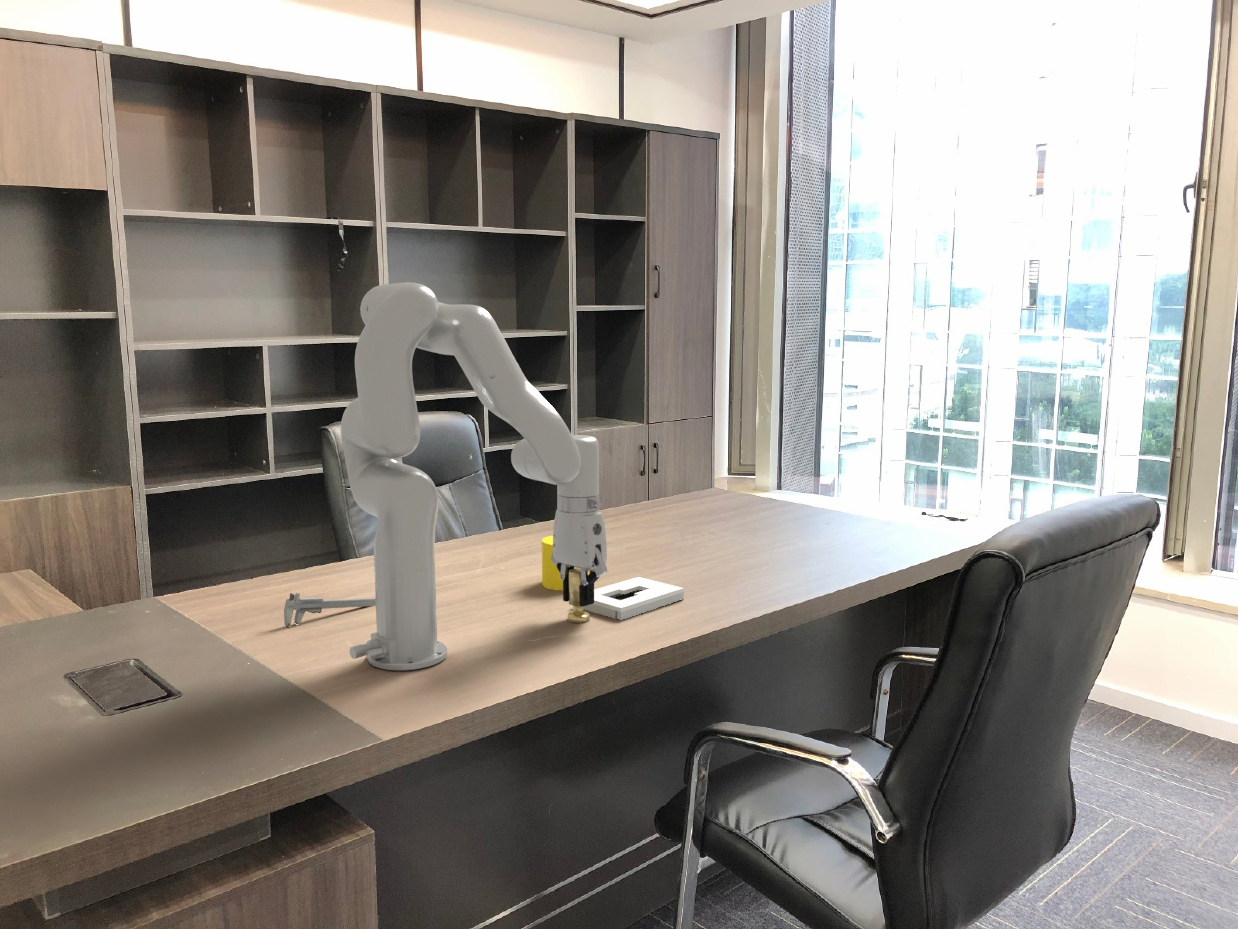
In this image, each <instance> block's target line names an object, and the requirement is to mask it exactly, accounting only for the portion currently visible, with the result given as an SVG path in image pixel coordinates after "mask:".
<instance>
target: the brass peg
mask: <svg viewBox="0 0 1238 929" xmlns="http://www.w3.org/2000/svg"><path fill="white" fill-rule="evenodd" d="M587 573H588V571H587ZM580 585H582V579H581V570H580V569H571V570H569V601H568V604H569V605H571V606H572V611H571V612H568V613H567V621H568V622H569V623H572V624H585V623H587V622H590V620H591V619H590V613H589V612H588V611H585V610H584V607H582V606H580V604H579V586H580Z"/></svg>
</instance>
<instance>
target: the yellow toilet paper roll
mask: <svg viewBox="0 0 1238 929" xmlns="http://www.w3.org/2000/svg"><path fill="white" fill-rule="evenodd" d="M552 554H553V535H550V536H549V535H548V536H545V537H544V538H542V539H541V580H542V581H541V582H542V584H541V585H542V587H543V586H544V587H543V588H545V589H548V590H551V589H554V590H553V591H558V590H563V580H562V579H561V578H560V572H559V570H558V569H557V566H556V565H555V564H554V563H553V562H552V561H551V556H552ZM569 567H570V566H569ZM576 569H580V568H578V567H576ZM589 574H590V571H588V575H589Z"/></svg>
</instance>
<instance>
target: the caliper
mask: <svg viewBox="0 0 1238 929" xmlns="http://www.w3.org/2000/svg"><path fill="white" fill-rule="evenodd" d="M374 606H375V607H376V597H363V598H359V597H358V598H338V599H337V598H336V599H324V598H322V597H305V598H304V597H301V598H300V593H298V592H296V593H295V594H294V593H291V592H290V593H289V598H288V599H287V598H286V599H285V603H284V608H283V615H284V616H283V617H284V619H283V620H284V626H285V625H286V626H285V627H287V626H290V627H291V626H292V619H293V616H294V620H293V621H294V622H293V624H294V623H296V624H300V625H301V623H302V620H303V618H304V615H305V612H309V613H311V614H315V613H316V614H317V613H318V614H321V613H322V610H323V609H325V610H326V609H342V608H343V609H345V608H362V607H363V608H364V607H368V608H369V607H374ZM294 610H295V614H294ZM293 614H294V615H293Z"/></svg>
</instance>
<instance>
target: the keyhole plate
mask: <svg viewBox="0 0 1238 929" xmlns="http://www.w3.org/2000/svg"><path fill="white" fill-rule="evenodd" d="M640 590H642V591H640ZM684 590H685V589H684V587H681V586H676V585H673V584H669V583H666V582H661V581H657V580H652V579H649V578H646V577H645V578H644V577H641V576H637V577H633V578H629V579H626V580H625V579H624V580H621V581H620V582H616V583H611V584H607V585H605V586H602V587H598V588H594V603H593V604H590V605H587V606H584V609H585V610H584V611H587V610H588V611H587V612H591V613H594V614H597V613H598V614H597V615H600V614H601V615H602V616H604V617H607V616H608V617H607V618H610V617H611V618H612V619H614V620H616V619H619V620H618V621H621V620H622V621H624V620H623V619H625V620H627V618H628V619H631V618H633V617H632V616H634V617H636V615H637V616H639V614H640V615H642V614H641V613H643V614H646V613H648V612H647V611H649V612H651V611H650V610H652V609H655V610H657V609H656V608H658V607H660V606H664V607H666V606H665V605H667V604H669V603H672V602H676V601H678V600H680V599H685V598H684V593H685V592H684ZM633 591H634V592H633ZM637 591H638V592H637ZM630 592H631V593H633V596H630V597H627V598H624V599H617V597H620V596H623V594H624V595H627V594H630ZM616 596H617V597H616ZM676 603H677V602H676ZM667 606H668V605H667ZM658 609H659V608H658ZM652 611H653V610H652ZM645 612H646V613H645ZM630 617H631V618H630Z"/></svg>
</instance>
